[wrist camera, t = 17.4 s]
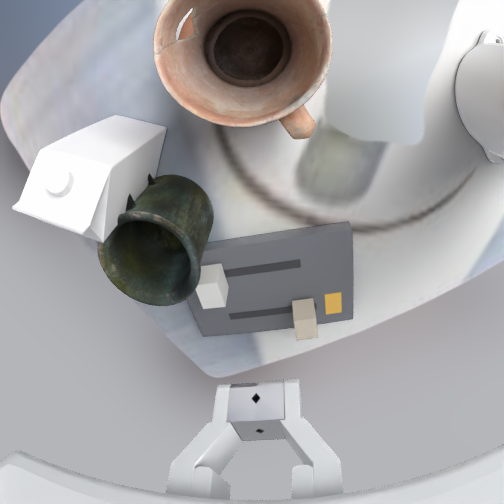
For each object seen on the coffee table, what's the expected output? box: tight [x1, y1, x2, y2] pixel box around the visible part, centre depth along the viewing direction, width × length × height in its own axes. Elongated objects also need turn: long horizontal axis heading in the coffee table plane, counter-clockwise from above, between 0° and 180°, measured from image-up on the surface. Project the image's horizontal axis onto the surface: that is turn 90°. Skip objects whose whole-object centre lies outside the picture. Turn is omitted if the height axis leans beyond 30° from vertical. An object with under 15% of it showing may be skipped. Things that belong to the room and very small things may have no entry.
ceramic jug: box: [153, 0, 332, 139], centre depth 23 cm, size 18×14×14 cm
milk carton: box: [12, 115, 167, 243], centre depth 27 cm, size 7×7×19 cm
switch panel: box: [187, 221, 353, 337], centre depth 44 cm, size 24×16×2 cm, turn 101°
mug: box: [98, 173, 213, 306], centre depth 34 cm, size 11×15×12 cm
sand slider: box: [292, 298, 318, 340], centre depth 43 cm, size 3×4×4 cm
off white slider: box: [195, 263, 229, 309], centre depth 40 cm, size 3×4×4 cm
